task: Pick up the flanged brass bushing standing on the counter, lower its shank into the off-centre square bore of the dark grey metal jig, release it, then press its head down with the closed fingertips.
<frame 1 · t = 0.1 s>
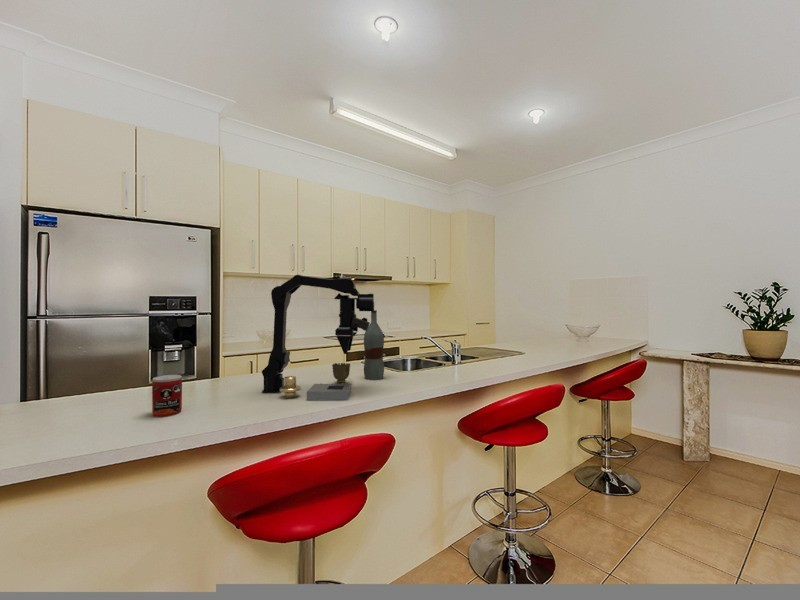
hand: (347, 352, 142), 15 cm above the table, tool pointing down, fingers open, 9 cm apart
brass bushing: (290, 396, 133), on the table
bottle: (373, 378, 165), on the table
canned food: (167, 413, 114), on the table
cup: (341, 383, 155), on the table
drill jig: (330, 395, 134), on the table
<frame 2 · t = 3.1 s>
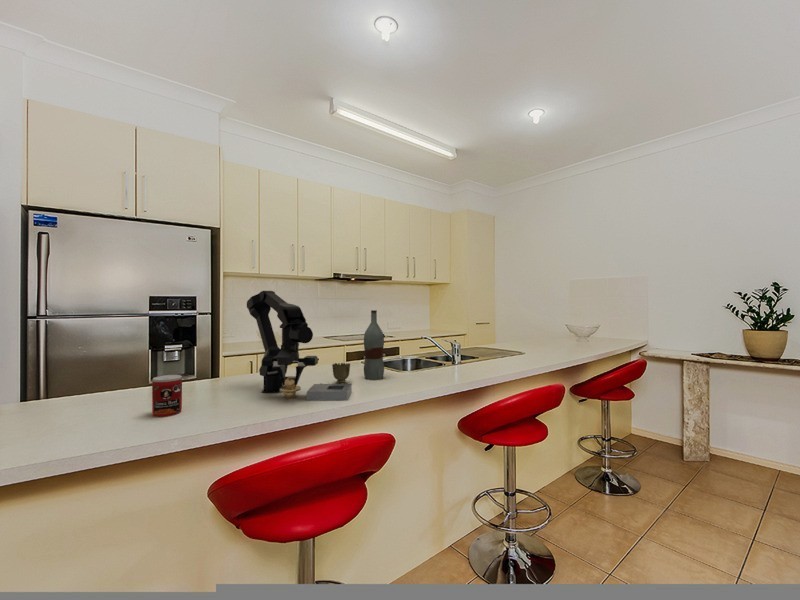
hand: (290, 384, 133), 4 cm above the table, tool pointing down, fingers closed on brass bushing, 4 cm apart
brass bushing: (290, 396, 133), on the table, touching gripper
everything else where it was.
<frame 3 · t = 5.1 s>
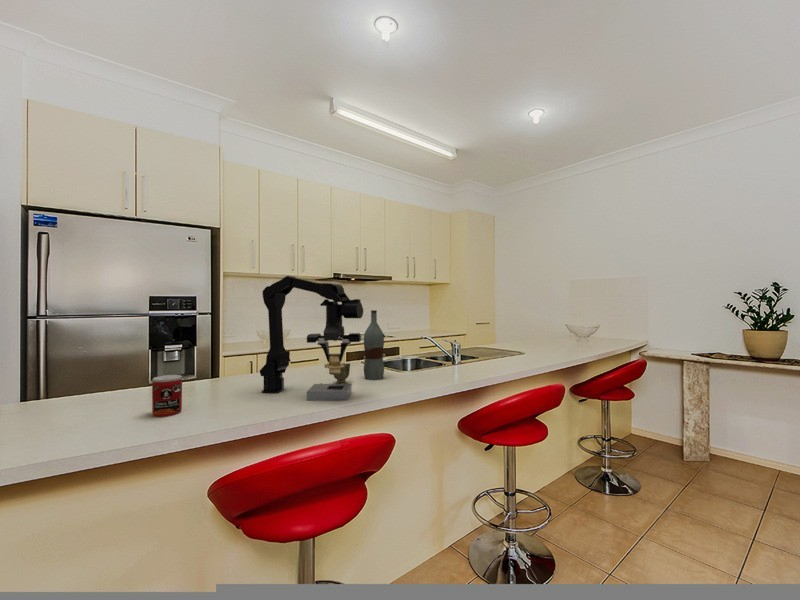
hand: (334, 361, 134), 12 cm above the table, tool pointing down, fingers closed on brass bushing, 4 cm apart
brass bushing: (334, 373, 134), point 8 cm above the table, touching gripper
everything else where it was.
when the fingers open (6 cm above the table, at t = 7.6 s): brass bushing stays where it is, resting on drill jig.
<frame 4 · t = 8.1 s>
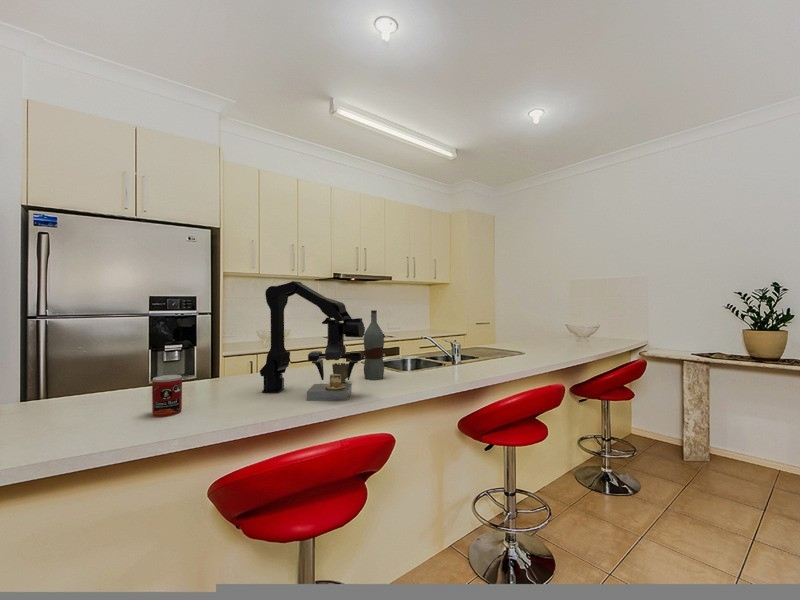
hand: (335, 380, 134), 6 cm above the table, tool pointing down, fingers open, 9 cm apart
brass bushing: (335, 394, 134), resting on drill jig
everything else where it was.
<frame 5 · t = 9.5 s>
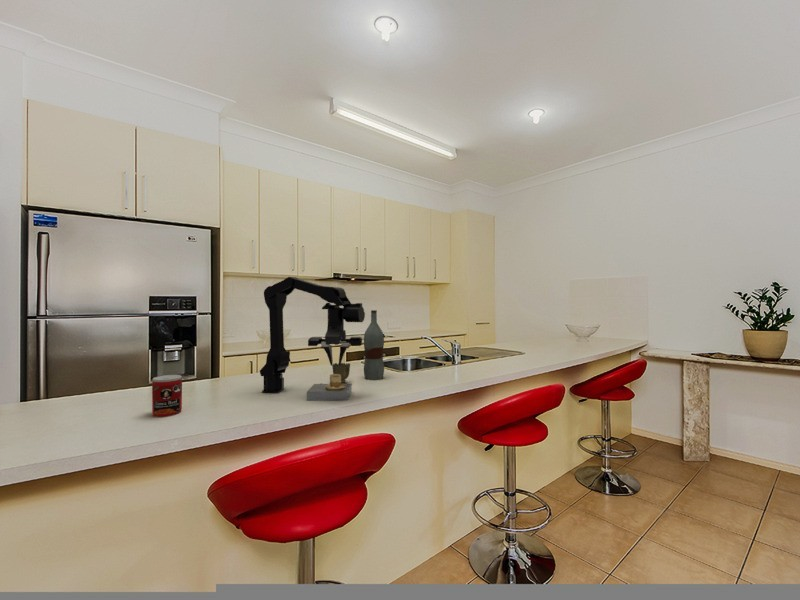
hand: (335, 365, 134), 11 cm above the table, tool pointing down, fingers open, 3 cm apart
nothing on the table moved.
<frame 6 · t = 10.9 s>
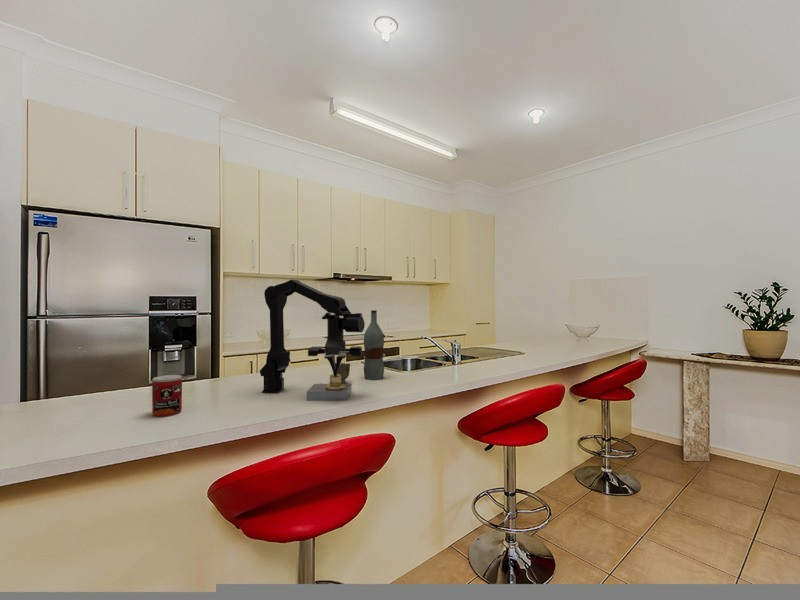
hand: (335, 375, 134), 7 cm above the table, tool pointing down, fingers closed, pressing on brass bushing
brass bushing: (335, 394, 134), resting on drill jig, touching gripper
everything else where it was.
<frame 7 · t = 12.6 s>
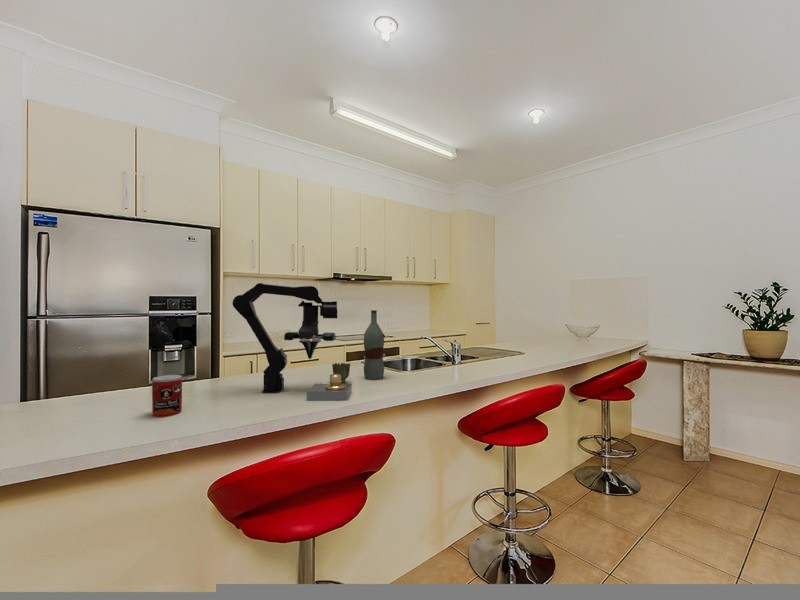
hand: (309, 358, 145), 12 cm above the table, tool pointing down, fingers closed
brass bushing: (335, 394, 134), resting on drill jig
everything else where it was.
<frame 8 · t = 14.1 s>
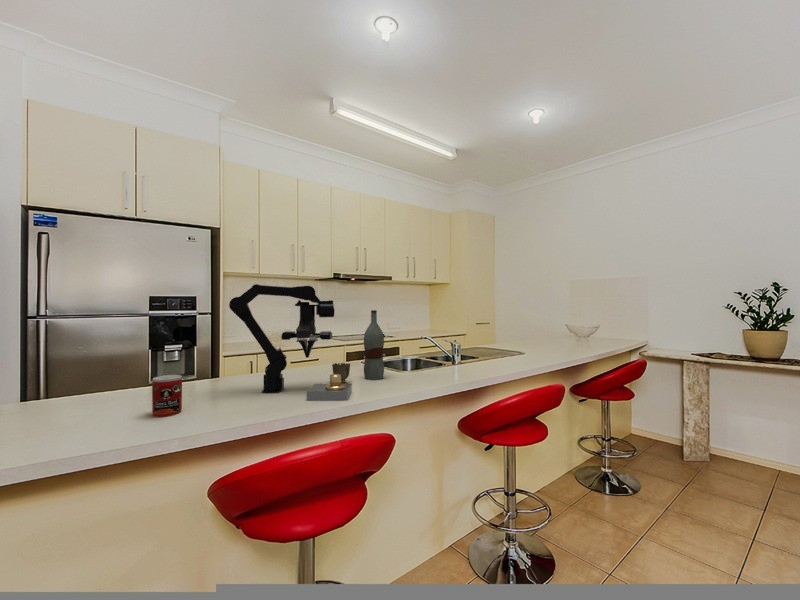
hand: (307, 357, 146), 12 cm above the table, tool pointing down, fingers closed
nothing on the table moved.
at the end: brass bushing 0.1 cm from the target spot on the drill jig, point 0.5 cm above the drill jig's base; brass bushing tilted 0°; the gripper is holding nothing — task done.
